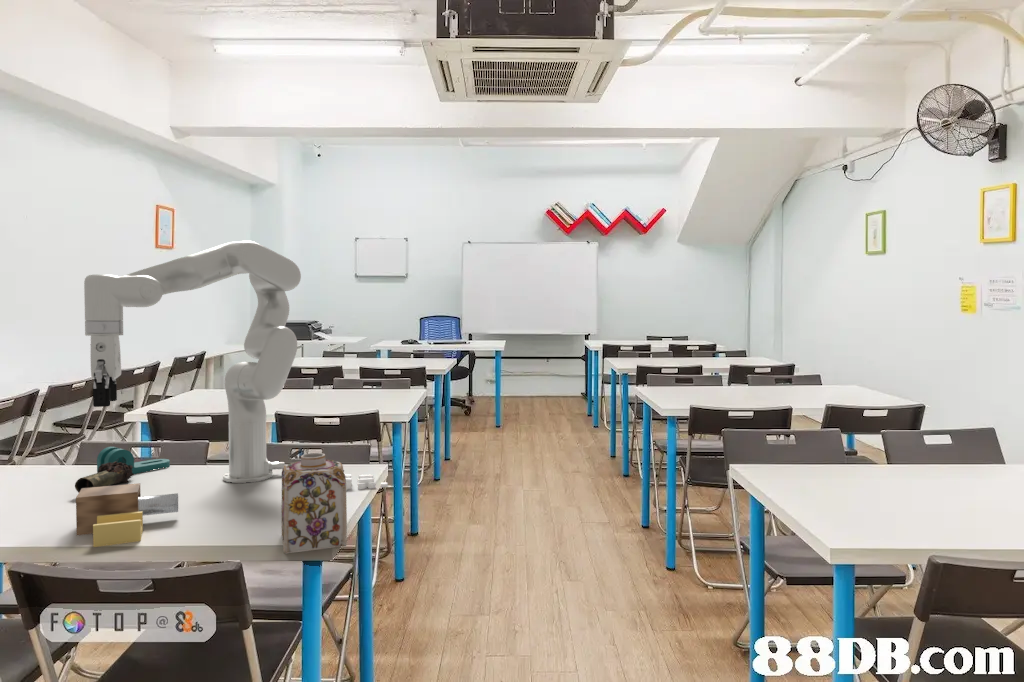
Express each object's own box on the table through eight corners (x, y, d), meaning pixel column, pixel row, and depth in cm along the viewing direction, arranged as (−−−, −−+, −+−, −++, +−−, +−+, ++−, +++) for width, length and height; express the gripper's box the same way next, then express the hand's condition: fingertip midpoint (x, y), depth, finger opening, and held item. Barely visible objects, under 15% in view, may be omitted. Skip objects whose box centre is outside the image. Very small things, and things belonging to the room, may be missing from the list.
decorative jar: (347, 551, 132) (347, 458, 131) (283, 558, 128) (282, 463, 127) (340, 532, 143) (339, 446, 142) (281, 538, 139) (280, 450, 138)
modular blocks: (329, 496, 172) (329, 481, 172) (329, 489, 178) (329, 474, 178) (408, 492, 177) (408, 477, 177) (405, 485, 184) (405, 471, 183)
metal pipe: (93, 496, 167) (94, 473, 167) (67, 495, 167) (67, 472, 167) (137, 480, 185) (137, 459, 185) (113, 479, 185) (113, 458, 185)
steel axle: (178, 506, 152) (178, 490, 151) (178, 515, 149) (177, 498, 148) (83, 516, 145) (82, 499, 144) (80, 525, 141) (79, 507, 140)
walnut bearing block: (140, 519, 151) (140, 483, 151) (138, 529, 144) (137, 492, 143) (82, 525, 146) (81, 488, 146) (76, 536, 139) (75, 497, 139)
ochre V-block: (142, 532, 142) (142, 511, 142) (140, 543, 136) (140, 520, 135) (98, 537, 139) (97, 515, 138) (93, 548, 132) (93, 525, 132)
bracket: (108, 480, 186) (107, 451, 185) (97, 476, 190) (96, 448, 189) (174, 468, 200) (173, 441, 200) (162, 465, 204) (162, 439, 204)
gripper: (117, 330, 150) (118, 408, 151) (128, 328, 166) (129, 398, 166) (77, 330, 147) (78, 409, 148) (92, 328, 163) (93, 399, 164)
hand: (105, 403), depth 157 cm, fingers open, 9 cm apart
